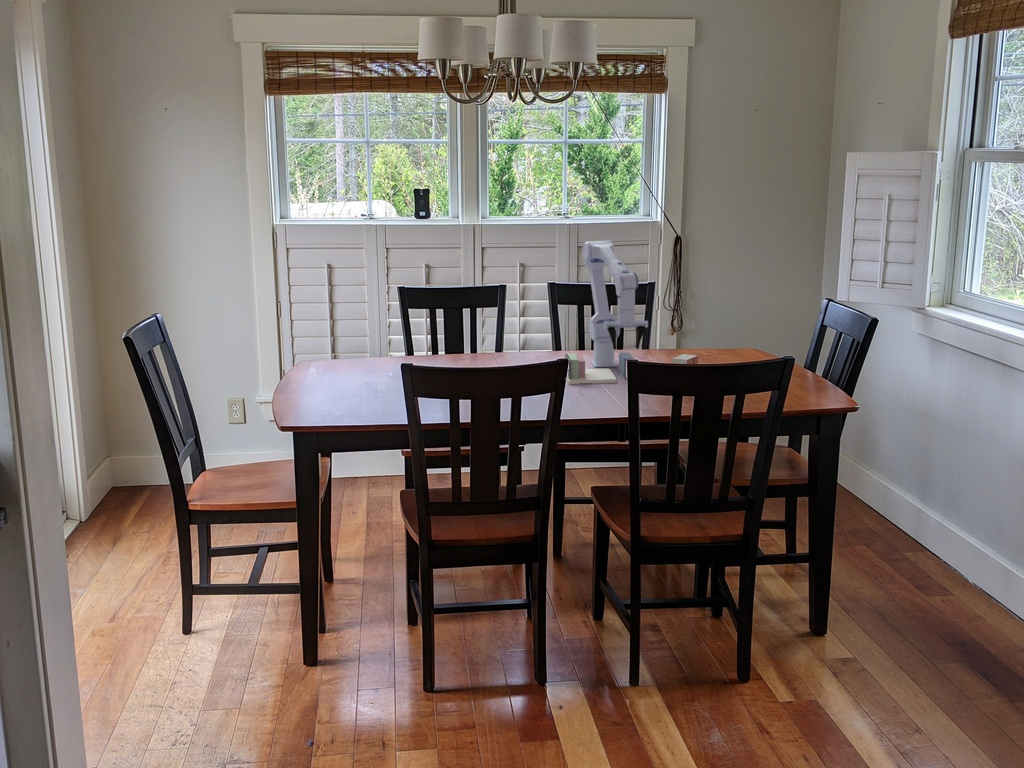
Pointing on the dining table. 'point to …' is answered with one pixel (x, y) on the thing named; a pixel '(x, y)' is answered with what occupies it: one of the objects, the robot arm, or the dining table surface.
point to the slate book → (623, 362)
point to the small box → (685, 359)
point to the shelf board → (595, 377)
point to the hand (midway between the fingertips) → (625, 348)
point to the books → (577, 366)
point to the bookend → (569, 366)
